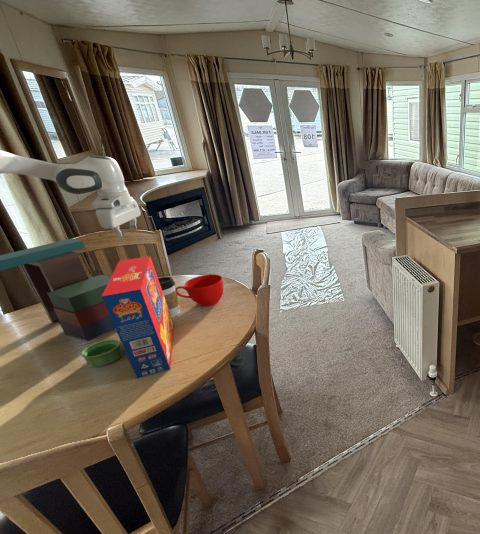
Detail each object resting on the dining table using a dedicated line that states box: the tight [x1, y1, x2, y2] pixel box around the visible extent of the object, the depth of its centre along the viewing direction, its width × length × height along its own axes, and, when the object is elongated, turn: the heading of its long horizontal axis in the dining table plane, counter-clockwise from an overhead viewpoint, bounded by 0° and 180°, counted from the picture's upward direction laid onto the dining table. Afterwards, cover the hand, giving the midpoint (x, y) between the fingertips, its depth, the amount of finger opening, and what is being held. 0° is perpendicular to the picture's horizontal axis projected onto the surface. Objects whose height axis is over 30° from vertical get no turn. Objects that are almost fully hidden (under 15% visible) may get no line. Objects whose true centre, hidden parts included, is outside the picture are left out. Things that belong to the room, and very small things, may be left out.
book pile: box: [47, 274, 116, 342], centre depth 121 cm, size 12×16×16 cm
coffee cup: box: [158, 276, 181, 319], centre depth 129 cm, size 8×8×15 cm
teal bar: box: [0, 237, 86, 272], centre depth 115 cm, size 6×22×3 cm, turn 162°
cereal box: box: [102, 255, 175, 379], centre depth 107 cm, size 28×8×28 cm, turn 33°
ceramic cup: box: [175, 273, 225, 307], centre depth 139 cm, size 13×17×10 cm
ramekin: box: [80, 339, 123, 368], centre depth 107 cm, size 9×9×4 cm
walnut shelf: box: [21, 251, 89, 324], centre depth 123 cm, size 12×10×26 cm
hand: (127, 232), depth 137 cm, fingers open, 8 cm apart
